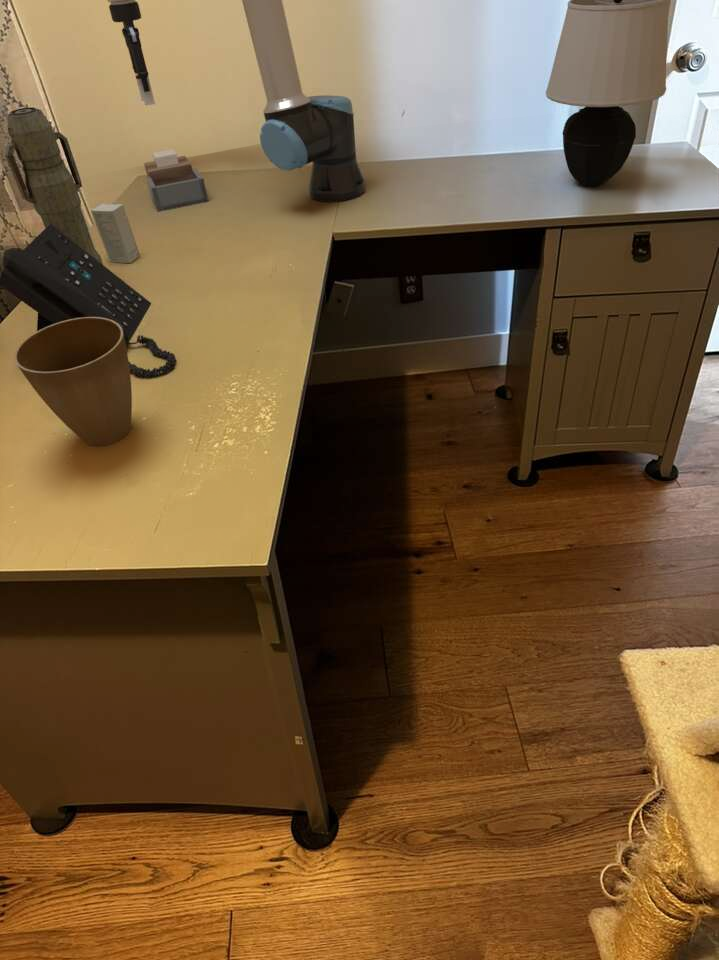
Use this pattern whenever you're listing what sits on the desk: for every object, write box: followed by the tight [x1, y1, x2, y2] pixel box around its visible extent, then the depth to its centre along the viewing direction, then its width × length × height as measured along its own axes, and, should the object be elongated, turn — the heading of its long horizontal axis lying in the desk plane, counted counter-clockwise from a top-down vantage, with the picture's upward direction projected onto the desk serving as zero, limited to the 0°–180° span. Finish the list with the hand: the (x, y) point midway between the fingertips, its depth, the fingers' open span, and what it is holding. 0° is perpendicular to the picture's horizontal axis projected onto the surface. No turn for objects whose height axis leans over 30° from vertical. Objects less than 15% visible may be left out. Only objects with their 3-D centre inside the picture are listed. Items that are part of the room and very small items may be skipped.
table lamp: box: [545, 0, 670, 187], centre depth 156 cm, size 27×27×40 cm
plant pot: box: [13, 317, 133, 447], centre depth 98 cm, size 15×15×16 cm
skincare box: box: [90, 203, 141, 264], centre depth 151 cm, size 6×4×12 cm
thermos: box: [4, 106, 104, 265], centre depth 133 cm, size 9×12×35 cm
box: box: [146, 167, 209, 212], centre depth 182 cm, size 11×14×6 cm
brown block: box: [143, 155, 194, 187], centre depth 190 cm, size 10×12×7 cm
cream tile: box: [151, 148, 179, 167], centre depth 188 cm, size 6×6×2 cm
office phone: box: [0, 224, 177, 378], centre depth 119 cm, size 29×28×20 cm
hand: (148, 102), depth 186 cm, fingers open, 6 cm apart
